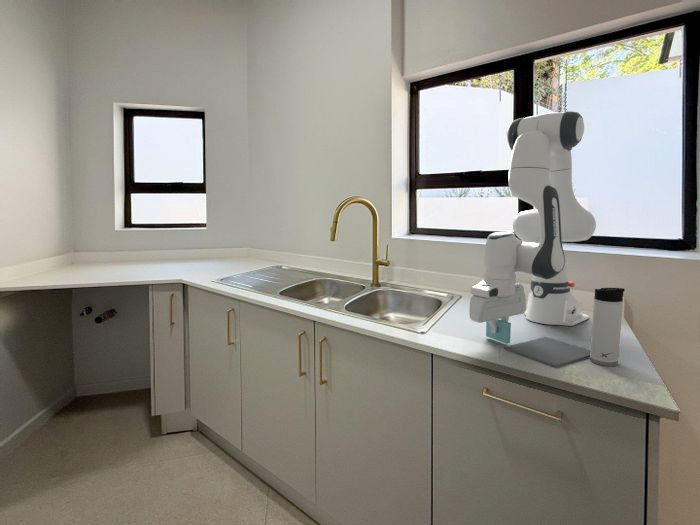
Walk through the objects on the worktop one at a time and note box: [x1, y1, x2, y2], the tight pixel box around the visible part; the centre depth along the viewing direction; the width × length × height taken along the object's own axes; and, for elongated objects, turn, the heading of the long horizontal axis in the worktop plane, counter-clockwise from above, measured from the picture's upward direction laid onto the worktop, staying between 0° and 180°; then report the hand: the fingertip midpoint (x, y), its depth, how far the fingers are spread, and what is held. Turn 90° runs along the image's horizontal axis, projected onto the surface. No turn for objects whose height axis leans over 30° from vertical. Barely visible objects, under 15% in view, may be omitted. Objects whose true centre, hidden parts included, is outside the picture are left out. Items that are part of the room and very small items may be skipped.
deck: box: [485, 319, 512, 345], centre depth 123 cm, size 1×8×6 cm, turn 28°
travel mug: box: [589, 287, 625, 367], centre depth 106 cm, size 6×7×20 cm
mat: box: [504, 336, 591, 369], centre depth 115 cm, size 18×16×1 cm
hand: (498, 331), depth 124 cm, fingers closed on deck, 1 cm apart
